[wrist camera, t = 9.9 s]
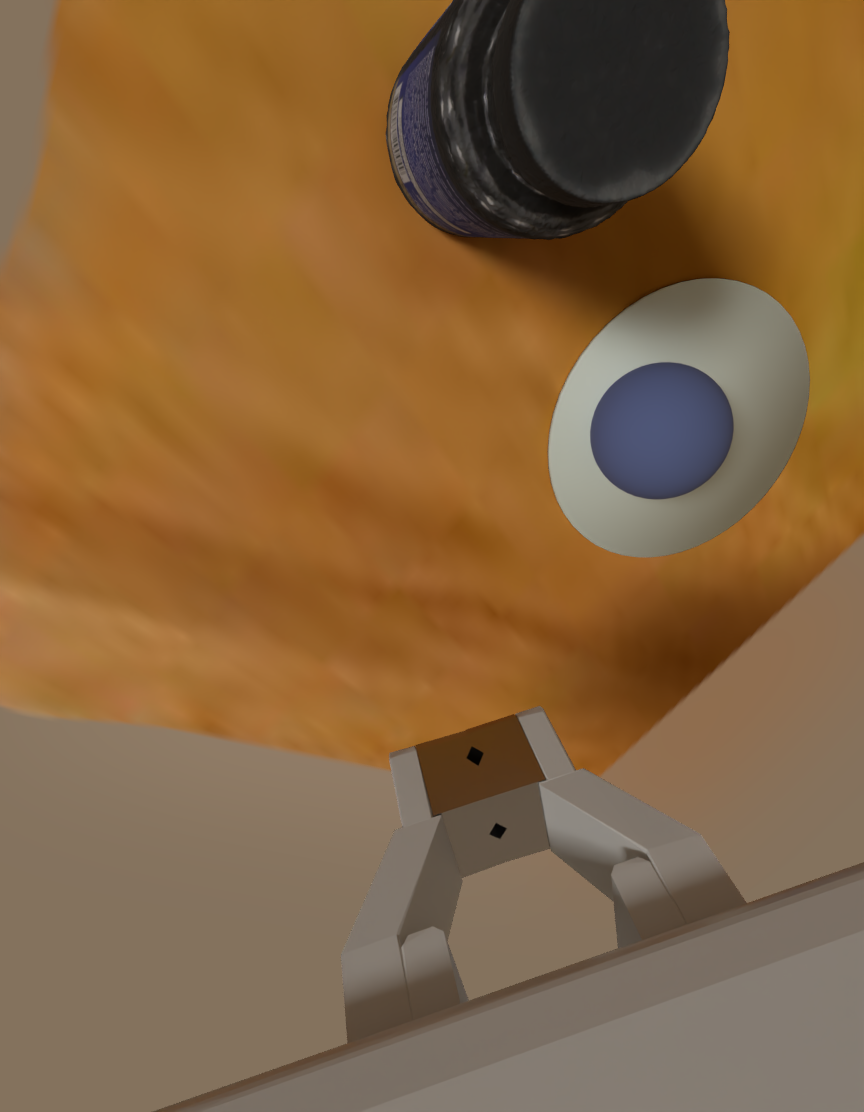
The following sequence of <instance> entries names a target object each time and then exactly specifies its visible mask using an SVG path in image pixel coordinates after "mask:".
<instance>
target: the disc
mask: <svg viewBox="0 0 864 1112" xmlns="http://www.w3.org/2000/svg"><path fill="white" fill-rule="evenodd" d="M659 362H673V363H681V364H685V365H689V366H692V367H694V368H696V369H699V370H700V371H702V372H704V373H705V374H707V375H708V376H709V377H711V378H712V379H713V380H714V381H715V382H716V383H717V384H718V385H719V386H720V387H721V389H722V390H723V392H724V393H725V395H726V397H727V399H728V401H729V403H730V406H731V409H732V414H733V423H734V431H733V439H732V443H731V446H730V449H729V452H728V454H727V457H726V458H725V460H724V462H723V463H722V465H721V466H720V468H719V469H718V470H717V472H716V473H715V474H714V475H713V476H712V477H711V478H710V479H709V480H708V481H707V482H705V483H704V484H703V485H701V486H700V487H698V488H697V489H695V490H693V491H691V492H689V493H687V494H684V495H681V496H678V497H674V498H668V499H656V500H654V499H645V498H641V497H636V496H633V495H631V494H628V493H626V492H624V491H622V490H621V489H619V488H617V487H616V486H615V485H613V484H612V483H611V482H610V481H609V480H608V479H607V478H606V477H605V476H604V475H603V473H602V472H601V470H600V469H599V467H598V465H597V463H596V461H595V459H594V456H593V453H592V448H591V443H590V429H591V422H592V418H593V415H594V411H595V409H596V407H597V405H598V403H599V401H600V400H601V398H602V396H603V395H604V393H605V392H606V391H607V390H608V388H609V387H610V386H611V385H612V384H613V383H614V382H615V381H617V380H618V379H619V378H621V377H622V376H623V375H625V374H627V373H628V372H630V371H632V370H634V369H636V368H639V367H641V366H644V365H648V364H652V363H659ZM809 383H810V376H809V363H808V358H807V353H806V349H805V345H804V342H803V340H802V337H801V334H800V332H799V330H798V328H797V326H796V324H795V323H794V321H793V319H792V317H791V316H790V315H789V314H788V312H787V311H786V310H785V309H784V308H783V307H782V305H781V304H780V303H778V302H777V301H776V300H775V299H774V298H772V297H771V296H770V295H769V294H767V293H765V292H763V291H762V290H760V289H758V288H756V287H754V286H751V285H748V284H745V283H742V282H739V281H734V280H727V279H720V278H705V279H695V280H689V281H683V282H679V283H676V284H673V285H670V286H667V287H664V288H661V289H659V290H657V291H655V292H653V293H651V294H649V295H647V296H645V297H643V298H641V299H640V300H638V301H637V302H635V303H633V304H632V305H630V306H629V307H627V308H626V309H624V310H623V311H622V312H621V313H620V314H618V315H617V316H616V317H615V318H614V319H612V320H611V321H610V322H609V323H608V324H607V325H606V326H605V327H604V328H603V329H602V330H601V331H600V332H599V333H598V334H597V335H596V336H595V337H594V338H593V339H592V341H591V342H590V343H589V345H588V346H587V347H586V349H585V350H584V351H583V352H582V354H581V355H580V356H579V358H578V360H577V361H576V363H575V365H574V366H573V368H572V370H571V371H570V373H569V375H568V377H567V379H566V381H565V383H564V385H563V388H562V390H561V392H560V394H559V397H558V400H557V403H556V406H555V409H554V412H553V416H552V421H551V426H550V431H549V440H548V469H549V474H550V480H551V485H552V488H553V491H554V494H555V497H556V500H557V502H558V504H559V505H560V507H561V509H562V511H563V513H564V515H565V516H566V517H567V519H568V520H569V521H570V523H571V524H572V525H573V526H574V527H575V528H576V529H577V530H578V531H579V532H580V533H581V534H582V535H583V536H584V537H585V538H587V539H588V540H590V541H591V542H593V543H594V544H595V545H597V546H599V547H602V548H604V549H606V550H608V551H611V552H614V553H617V554H621V555H626V556H633V557H657V556H665V555H670V554H674V553H678V552H682V551H685V550H688V549H690V548H693V547H696V546H698V545H700V544H702V543H704V542H706V541H709V540H711V539H712V538H714V537H716V536H717V535H719V534H721V533H722V532H724V531H725V530H727V529H728V528H730V527H731V526H732V525H734V524H735V523H736V522H738V521H739V520H740V519H741V518H742V517H743V516H745V515H746V514H747V513H748V512H749V511H750V510H751V509H752V508H753V507H754V506H755V505H756V504H757V503H758V502H759V501H760V500H761V499H762V498H763V496H764V495H765V494H766V493H767V492H768V490H769V489H770V488H771V486H772V485H773V484H774V483H775V481H776V480H777V478H778V477H779V475H780V474H781V472H782V470H783V469H784V467H785V466H786V464H787V462H788V460H789V458H790V456H791V454H792V452H793V450H794V448H795V446H796V443H797V440H798V438H799V435H800V433H801V430H802V426H803V423H804V419H805V416H806V410H807V405H808V399H809Z"/></svg>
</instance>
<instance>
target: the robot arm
mask: <svg viewBox="0 0 864 1112" xmlns="http://www.w3.org/2000/svg"><path fill="white" fill-rule="evenodd" d="M389 761H390V766H391V771H392V776H393V782H394V787H395V792H396V797H397V802H398V807H399V812H400V818H401V822H402V828H399V829H396V830H394V833H393V835H392V837H391V840H390V842H389V844H388V847H387V849H386V851H385V854H384V856H383V858H382V861H381V863H380V865H379V868H378V870H377V872H376V875H375V877H374V879H373V882H372V884H371V887H370V889H369V891H368V893H367V896H366V898H365V900H364V902H363V905H362V907H361V909H360V912H359V914H358V917H357V919H356V921H355V923H354V926H353V928H352V930H351V933H350V935H349V937H348V940H347V942H346V944H345V947H344V949H343V951H342V954H341V961H342V974H343V988H344V1001H345V1016H346V1029H347V1041H348V1042H347V1044H344V1045H341V1046H338V1047H336V1048H333V1049H330V1050H327V1051H324V1052H322V1053H318V1054H316V1055H313V1056H310V1057H307V1058H304V1059H302V1060H298V1061H296V1062H293V1063H290V1064H287V1065H284V1066H281V1067H279V1068H276V1069H273V1070H270V1071H267V1072H264V1073H261V1074H259V1075H256V1076H253V1077H250V1078H248V1079H244V1080H241V1081H239V1082H236V1083H233V1084H230V1085H227V1086H224V1087H222V1088H219V1089H216V1090H213V1091H210V1092H207V1093H204V1094H201V1095H199V1096H196V1097H193V1098H190V1099H187V1100H185V1101H181V1102H179V1103H176V1104H173V1105H170V1106H167V1107H164V1108H162V1109H159V1110H156V1111H153V1112H864V862H863V863H860V864H858V865H855V866H852V867H849V868H846V869H843V870H840V871H838V872H835V873H832V874H829V875H826V876H824V877H820V878H818V879H815V880H812V881H809V882H806V883H803V884H800V885H798V886H795V887H792V888H789V889H786V890H783V891H780V892H778V893H775V894H772V895H769V896H766V897H763V898H760V899H758V900H755V901H752V902H749V903H746V901H745V900H744V898H743V897H742V895H741V894H740V892H739V891H738V889H737V888H736V886H735V885H734V883H733V882H732V880H731V879H730V877H729V876H728V874H727V873H726V871H725V870H724V868H723V867H722V865H721V864H720V862H719V861H718V860H717V858H716V856H715V855H714V853H713V852H712V851H711V849H710V848H709V846H708V845H707V843H706V842H705V840H704V839H703V837H702V836H701V834H699V833H698V832H696V831H694V830H692V829H690V828H689V827H687V826H685V825H683V824H682V823H680V822H678V821H676V820H675V819H673V818H671V817H669V816H667V815H666V814H664V813H662V812H660V811H659V810H657V809H655V808H653V807H651V806H650V805H648V804H646V803H644V802H643V801H641V800H639V799H637V798H636V797H634V796H632V795H630V794H628V793H626V792H625V791H623V790H621V789H619V788H618V787H616V786H614V785H612V784H611V783H609V782H607V781H605V780H604V779H602V778H600V777H598V776H596V775H595V774H593V773H591V772H589V771H588V770H586V769H584V768H583V769H580V770H576V769H575V767H574V766H573V764H572V762H571V760H570V758H569V756H568V754H567V752H566V750H565V749H564V747H563V745H562V743H561V741H560V739H559V737H558V735H557V734H556V732H555V730H554V728H553V726H552V724H551V722H550V720H549V718H548V717H547V715H546V713H545V711H544V709H543V708H542V707H540V706H538V707H535V708H532V709H529V710H526V711H523V712H519V713H516V714H515V715H514V714H513V715H510V716H507V717H504V718H501V719H498V720H494V721H491V722H488V723H485V724H482V725H479V726H476V727H473V728H470V729H467V730H465V731H463V732H459V733H456V734H452V735H449V736H445V737H442V738H438V739H435V740H431V741H428V742H424V743H421V744H417V745H416V746H412V747H409V748H405V749H402V750H398V751H395V752H392V753H389ZM550 848H551V851H552V852H553V853H554V854H556V855H557V856H558V857H559V858H560V859H562V860H563V861H564V862H565V863H567V864H568V865H569V866H570V867H572V868H573V869H574V870H575V871H577V872H578V873H579V874H580V875H581V876H583V877H584V878H585V879H586V880H587V881H589V882H590V883H591V884H592V885H594V886H595V887H596V888H597V889H599V890H600V891H601V892H602V893H603V894H605V895H606V896H607V897H608V898H610V899H611V900H612V901H613V902H614V911H615V922H616V932H617V943H618V949H615V950H612V951H609V952H606V953H603V954H601V955H598V956H595V957H592V958H589V959H587V960H583V961H581V962H578V963H575V964H572V965H569V966H566V967H564V968H561V969H558V970H555V971H552V972H549V973H547V974H544V975H541V976H538V977H535V978H532V979H529V980H527V981H524V982H521V983H518V984H515V985H513V986H509V987H507V988H504V989H501V990H498V991H495V992H492V993H490V994H487V995H484V996H481V997H478V998H475V999H473V1000H470V1001H469V1000H468V997H467V994H466V991H465V989H464V986H463V983H462V980H461V978H460V975H459V972H458V969H457V967H456V964H455V961H454V959H453V956H452V953H451V950H450V948H449V945H448V942H447V941H448V937H449V933H450V929H451V925H452V921H453V917H454V913H455V909H456V905H457V901H458V897H459V893H460V889H461V885H462V878H463V877H466V876H469V875H472V874H474V873H477V872H480V871H482V870H485V869H488V868H490V867H493V866H496V865H499V864H502V863H504V862H505V861H506V862H507V861H510V860H514V859H517V858H520V857H523V856H527V855H530V854H534V853H537V852H540V851H544V850H547V849H550Z"/></svg>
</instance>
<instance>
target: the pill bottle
mask: <svg viewBox="0 0 864 1112" xmlns="http://www.w3.org/2000/svg"><path fill="white" fill-rule="evenodd" d="M729 33H730V32H729V30H728V27H727V8H726V5H725V0H453V1H452V3H451V4H450V5H449V6H448V8H447V9H446V10H445V12H444V13H443V14H442V16H441V17H440V18H439V19H438V20H437V22H436V23H435V24H434V25H433V27H432V28H431V29H430V31H429V32H428V33H427V34H426V36H425V37H424V38H423V39H422V41H421V42H420V43H419V45H418V46H417V47H416V49H415V50H414V51H413V53H412V54H411V56H410V57H409V58H408V60H407V62H406V63H405V64H404V66H403V67H402V69H401V71H400V73H399V75H398V77H397V79H396V82H395V84H394V87H393V89H392V92H391V96H390V100H389V105H388V112H387V129H386V141H387V147H388V152H389V157H390V162H391V166H392V170H393V174H394V177H395V180H396V183H397V185H398V186H399V188H400V190H401V191H402V193H403V195H404V197H405V198H406V200H407V201H408V202H409V204H410V205H411V206H412V207H413V208H414V209H415V210H416V211H417V213H418V214H419V215H420V216H421V217H423V218H424V219H425V220H426V221H427V222H428V223H430V224H431V225H433V226H434V227H436V228H438V229H440V230H442V231H444V232H447V233H450V234H453V235H457V236H462V237H488V238H527V239H547V240H550V239H554V238H565V237H568V236H571V235H573V234H577V233H580V232H582V231H584V230H586V229H589V228H593V227H595V226H597V225H599V224H600V223H602V222H603V221H605V220H606V219H608V218H610V217H611V216H612V215H613V214H614V213H616V211H617V210H619V209H620V208H622V207H623V205H624V204H626V203H627V201H629V200H632V199H635V198H638V197H640V196H643V195H645V194H647V193H649V192H651V191H653V190H655V189H656V188H657V187H659V186H661V185H662V184H663V183H665V182H666V181H667V180H668V179H670V178H671V177H672V176H673V175H674V174H675V173H676V172H677V171H678V170H679V169H680V168H681V167H682V166H683V164H684V163H685V162H687V160H688V158H689V157H690V156H691V155H692V154H693V153H694V151H695V150H696V148H697V147H698V145H699V144H700V142H701V141H702V139H703V137H704V136H705V134H706V131H707V128H708V126H709V124H710V122H711V121H712V119H713V116H714V114H715V110H716V107H717V105H718V102H719V100H720V96H721V93H722V89H723V86H724V81H725V76H726V69H727V63H728V50H729Z"/></svg>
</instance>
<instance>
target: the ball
mask: <svg viewBox="0 0 864 1112" xmlns="http://www.w3.org/2000/svg"><path fill="white" fill-rule="evenodd" d="M733 431H734V423H733V414H732V409H731V406H730V403H729V401H728V399H727V397H726V395H725V393H724V392H723V390H722V389H721V387H720V386H719V385H718V384H717V383H716V382H715V381H714V380H713V379H712V378H711V377H709V376H708V375H707V374H705V373H704V372H702V371H700V370H699V369H696V368H694V367H692V366H689V365H685V364H681V363H673V362H659V363H652V364H648V365H644V366H641V367H639V368H636V369H634V370H632V371H630V372H628V373H627V374H625V375H623V376H622V377H621V378H619V379H618V380H617V381H615V382H614V383H613V384H612V385H611V386H610V387H609V388H608V390H607V391H606V392H605V393H604V395H603V396H602V398H601V400H600V401H599V403H598V405H597V407H596V409H595V411H594V415H593V418H592V422H591V429H590V443H591V448H592V453H593V456H594V459H595V461H596V463H597V465H598V467H599V469H600V470H601V472H602V473H603V475H604V476H605V477H606V478H607V479H608V480H609V481H610V482H611V483H612V484H613V485H615V486H616V487H617V488H619V489H621V490H622V491H624V492H626V493H628V494H631V495H633V496H636V497H641V498H645V499H654V500H656V499H668V498H674V497H678V496H681V495H684V494H687V493H689V492H691V491H693V490H695V489H697V488H698V487H700V486H701V485H703V484H704V483H705V482H707V481H708V480H709V479H710V478H711V477H712V476H713V475H714V474H715V473H716V472H717V470H718V469H719V468H720V466H721V465H722V463H723V462H724V460H725V458H726V457H727V454H728V452H729V449H730V446H731V443H732V439H733Z"/></svg>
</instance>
